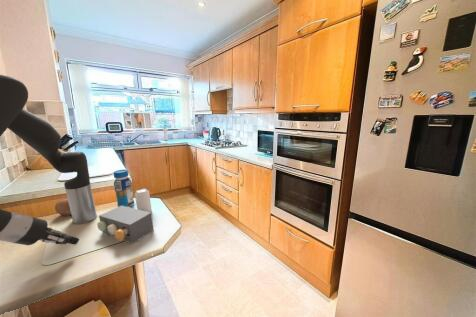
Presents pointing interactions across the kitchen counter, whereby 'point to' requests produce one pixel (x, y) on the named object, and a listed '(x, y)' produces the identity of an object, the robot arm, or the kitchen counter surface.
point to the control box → (129, 222)
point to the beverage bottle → (123, 188)
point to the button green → (102, 225)
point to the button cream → (112, 228)
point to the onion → (63, 207)
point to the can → (143, 200)
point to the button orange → (121, 234)
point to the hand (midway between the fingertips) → (76, 241)
